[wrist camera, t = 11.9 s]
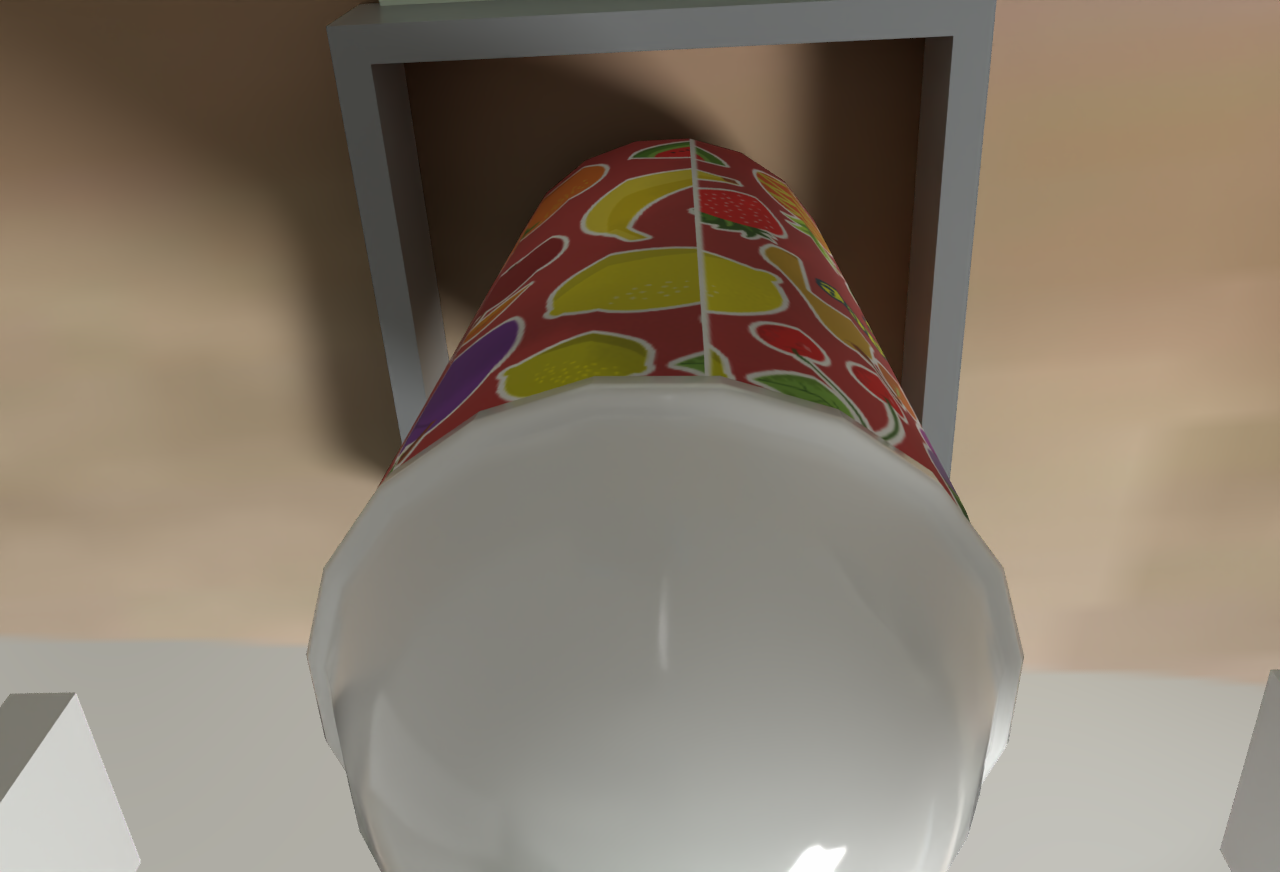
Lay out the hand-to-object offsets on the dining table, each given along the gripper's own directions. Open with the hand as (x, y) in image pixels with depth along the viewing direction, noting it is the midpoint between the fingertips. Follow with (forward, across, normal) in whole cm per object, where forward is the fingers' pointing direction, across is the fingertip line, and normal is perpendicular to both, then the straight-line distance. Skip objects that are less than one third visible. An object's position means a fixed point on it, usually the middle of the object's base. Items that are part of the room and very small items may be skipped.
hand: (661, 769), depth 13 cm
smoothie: (+15, 0, 0) cm, 15 cm away
